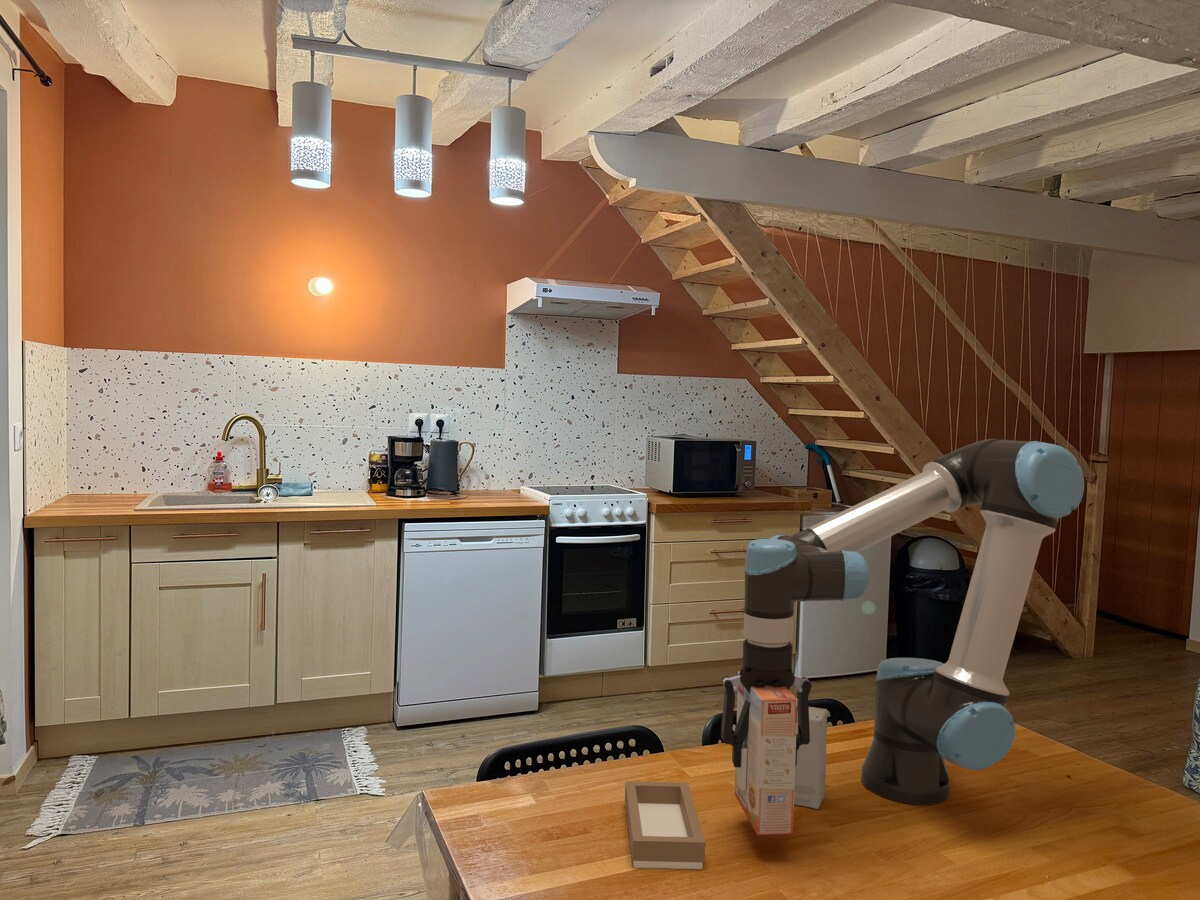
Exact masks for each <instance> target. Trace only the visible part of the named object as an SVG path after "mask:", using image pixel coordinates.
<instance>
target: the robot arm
mask: <svg viewBox="0 0 1200 900" xmlns="http://www.w3.org/2000/svg"><path fill="white" fill-rule="evenodd" d="M1084 477H1085V476H1084V472H1083V469H1082V467H1081V466H1080V465H1079V463H1078V458H1076V457H1075V456H1074V454H1073V453H1072V452H1070V451H1069V450H1068V449H1067V448H1064V447H1062V446H1061V445H1058V444H1053V443H1047V442H1044V441H1043V442H1042V441H1039V440H1033V441H1032V440H1031V441H1030V440H1015V439H1013V440H1011V439H1010V440H1009V439H1001V438H989V439H983V440H982V439H981V440H979V441H976V442H973V443H970V444H967V445H965V446H962V447H960V448H957V449H955V450H953V451H951V452H949V453H946V454H944V455H943V456H940V457H938V458H936V459H934V460H932V461H929V462H928V463H926V464H924V465H923V468H922V472H921V473H918V474H916V475H914V476H913V477H910V478H908V479H906V480H904V481H901V482H900V483H898V484H895V485H893V486H892V487H890V488H888V489H886V490H883V491H881V492H879V493H878V494H875V495H873V496H871V497H869V498H868V499H864V500H863V501H861V502H859V503H857V504H854V505H853V506H851V507H849V508H848V507H847V508H846V509H844V510H843V511H840V512H839V513H836V514H834V515H833V516H830V517H828V518H826V519H824V520H822V521H820V522H818V523H816V524H813V525H811V526H810V527H807V528H806V529H803V530H801V531H798V532H797V533H795V534H793V535H788V534H787V535H786V534H779V535H773V536H771V537H769V538H759V539H758V538H757V539H754V540H751V541H750V542H748V544H747V546H746V551H745V561H744V567H743V570H744V571H743V572H744V608H743V613H744V614H743V635H742V636H743V637H744V638H745V639H744V640H743V643H742V667H741V669H740V673H739V675H738V674H737V675H735V676H731V677H729V676H725V675H724V676H723V677H722V679H721V681H722V682H721V683H722V685H723V690H724V694H723V695H724V698H723V707H722V717H721V727H720V728H721V729H720V736H721V739H722V742H723V743H724V744H725V745H731V746H732V747H731V748H732V752H731V762H732V764H733V767H734V768H736V767H738V784H739V787H740V789H741V791H746V771H747V748H746V746H745V744H744V740H745V737H746V734H747V731H748V728H749V707H750V703H751V702H749V701H747V700H745V703H744V705H743V708H742V711H741V714H740V717H739V720H738V722H737V721H736V725H735V729H734V732H733V724H734V715H735V714H734V713H735V712H734V711H735V703H736V692H738V686H739V684H741V683H742V684H743V686H744V687H745V689H746V690H747V691H748V693H750V690H751V687H752V686H755V687H756V688H765V685H768V686H773V687H778V688H782V686H784V687H786V688H787V689H788V690H789V691H790V688H791V687H792V686H794V689H795V691H796V698H797V700H798V701H797V715H798V734H796V759H795V767H796V765H797V750H798V749H799V746H800V745H803V744H805V745H807V744H809V742H810V730H809V707H810V705H809V704H810V703H809V696H810V693H811V689H812V683H811V681H810V680H809V679H808V678H807V677H806V676H801V677H799V676H796V675H795V674H794V673H793V647H794V646H793V644H792V643H791V642H792V641H793V639H794V610H795V602H817V601H818V602H819V601H821V602H822V601H840V602H842V601H845V600H848V601H849V600H855V599H860V598H861V597H862V596H864V595H865V593H866V592H867V590H868V587H869V584H870V581H869V579H870V569H869V567H868V564H867V562H866V559H865V558H864V556H863V555H862V554H860V552H862V551H864V550H866V549H868V548H870V547H872V546H874V545H876V544H878V543H880V542H882V541H884V540H886V539H888V538H891V537H893V536H894V535H896V534H898V533H901V532H902V531H905V530H906V529H909V528H911V527H912V526H915V525H917V524H918V523H922V522H923V521H925V520H927V519H929V518H931V517H933V516H935V515H937V514H939V513H941V512H943V511H944V512H948V513H955V512H957V511H958V510H961V509H962V508H965V507H969V506H974V505H975V506H978V505H979V506H980V505H981V507H980V510H979V512H980V514H981V516H982V518H983V520H984V522H985V524H986V526H985V529H984V533H983V535H982V539H981V542H980V543H981V544H980V547H979V550H978V554H977V558H976V560H975V561H976V562H975V564H974V567H973V571H972V575H971V579H970V581H969V582H970V583H969V586H968V590H967V592H966V596H965V601H964V603H963V607H962V611H961V613H960V618H959V621H958V624H957V628H956V631H955V634H954V638H953V643H952V644H951V645H952V646H951V649H950V653H949V657H948V660H947V661H946V662H945V663H943V662H941V661H937V660H934V659H927V658H918V657H890V658H886V659H884V660H882V661H881V662H879V664H878V667H877V671H876V678H875V682H876V686H875V704H874V721H873V723H874V725H873V727H874V728H873V739H872V742H871V745H870V746H869V750H868V752H867V754H866V757H865V758H864V760H863V764H862V766H861V776H860V777H861V784H862V785H864V786H865V788H867V789H868V790H869V791H871V792H872V793H874V794H876V795H878V796H880V797H883V798H886V799H888V800H891V801H897V802H900V803H905V804H913V805H933V804H938V803H941V802H945V801H946V800H947V799H948V798H949V797H950V794H951V793H950V792H951V781H950V779H951V778H950V776H949V772H948V769H947V764H946V761H947V762H948V763H953V764H955V765H957V766H959V767H961V768H963V769H966V770H971V771H979V770H980V771H981V770H984V769H985V770H986V769H989V768H991V767H992V766H993V765H994V764H997V763H999V762H1001V760H1003V758H1005V757H1006V755H1008V753H1009V752H1010V750H1011V748H1012V746H1013V744H1014V741H1015V737H1016V723H1015V722H1014V721H1013V720H1014V717H1013V716H1012V714H1011V713H1010V712H1009V710H1008V709H1007V704H1008V701H1009V700H1008V699H1009V697H1010V691H1009V690H1008V688H1007V686H1006V685H1005V683H1004V676H1005V672H1006V668H1007V664H1008V661H1009V658H1010V654H1011V650H1012V648H1013V644H1014V641H1015V637H1016V632H1017V630H1018V626H1019V624H1020V623H1019V622H1020V618H1021V615H1022V613H1023V608H1024V605H1025V601H1026V597H1027V595H1028V590H1029V587H1030V582H1031V580H1032V576H1033V572H1034V569H1035V565H1036V563H1037V558H1038V555H1039V552H1040V549H1041V544H1042V541H1043V539H1044V538H1046V537H1047V536H1049V535H1051V534H1053V533H1055V532H1056V529H1057V526H1058V523H1059V520H1060V519H1061V518H1063V517H1066V516H1069V515H1070V514H1072V511H1075V510H1076V509H1077V508H1078V506H1079V505H1080V503H1081V502H1082V499H1083V496H1084V492H1085V491H1084V490H1085V478H1084ZM945 760H946V761H945Z"/></svg>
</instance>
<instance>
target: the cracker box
mask: <svg viewBox="0 0 1200 900" xmlns="http://www.w3.org/2000/svg"><path fill="white" fill-rule="evenodd" d="M740 671H741V670H740ZM740 671H739V670H738V671H737V676H738V675H739V673H740ZM736 694H737V701H736V723H737V722H738V720H739V717H740V714H741V711H742V708H743V705H744V703H745V700H747V701H749V702H751V703H750V707H749V728H748V731H747V734H746V737H745V740H744V744H745V746H746V748H747V771H746V791H741V789H740V787H739V784H738V767H734V768H735V772H734V773H735V774H734V775H735V777H734V796H735V798H736V800H737V801H738V803H739V805H740V807H741V808H742V810H743V812H744V813H745V815H746V818H747V819H748V821H749V822H750V825H751V827H752V828H753V830H754V832H755V834H756V835H757V836H779V835H780V836H782V835H783V836H786V835H790V836H791V835H793V834H794V821H795V820H794V817H795V812H794V811H795V804H794V788H795V759H796V729H797V701H798V700H797V696H795V694H793V693H792V692H791V691H790V689H789V690H788V689H787V688H786V687H784V686H782V688H778V687H773V686H768V685H765V688H756V687H755V686H752V687H751V690H750V693H748V691H747V690H746V689H745V687H744V686H743V684H742V683H741V684H739V686H738V690H737V693H736Z"/></svg>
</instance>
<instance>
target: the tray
mask: <svg viewBox="0 0 1200 900" xmlns="http://www.w3.org/2000/svg"><path fill="white" fill-rule="evenodd" d="M624 788H625V789H624V791H625V792H624V802H625V803H624V804H625V811H626V819H627V827H628V828H627V829H628V834H629V835H628V837H629V842H630V843H629V844H630V852H631V860H632V863H633V868H634V869H635V868H636V869H638V868H639V869H675V870H677V869H678V870H679V869H682V870H691V869H692V870H703V863H705V856H706V841H705V837H704V833H703V830H702V826H701V824H700V820H699V817H698V813H697V809H696V805H695V802H694V799H693V796H692V793H691V788H690V785H689V783H688V782H670V781H669V782H667V781H666V782H665V781H635V780H634V781H630V780H629V781H627V780H626V781H625V787H624Z"/></svg>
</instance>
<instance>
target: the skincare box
mask: <svg viewBox="0 0 1200 900" xmlns="http://www.w3.org/2000/svg"><path fill="white" fill-rule="evenodd" d="M827 719H828V709H827V708H821V707H820V708H819V707H814V706H813V707H812V706H809V730H810V742H809V744H807V745H805V744H803V745H800V746H799V749H798V750H797V765H796V767H795V788H794V806H795V805H796V806H800V807H806V808H811V809H816V810H818V809H819V808H820V806H821V805H822V803H823V801H824V798H825V795H826V776H827V775H826V773H827V772H826V769H827V730H828V729H827V728H828V727H827V726H828V720H827ZM796 734H798V715H797V729H796Z"/></svg>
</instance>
